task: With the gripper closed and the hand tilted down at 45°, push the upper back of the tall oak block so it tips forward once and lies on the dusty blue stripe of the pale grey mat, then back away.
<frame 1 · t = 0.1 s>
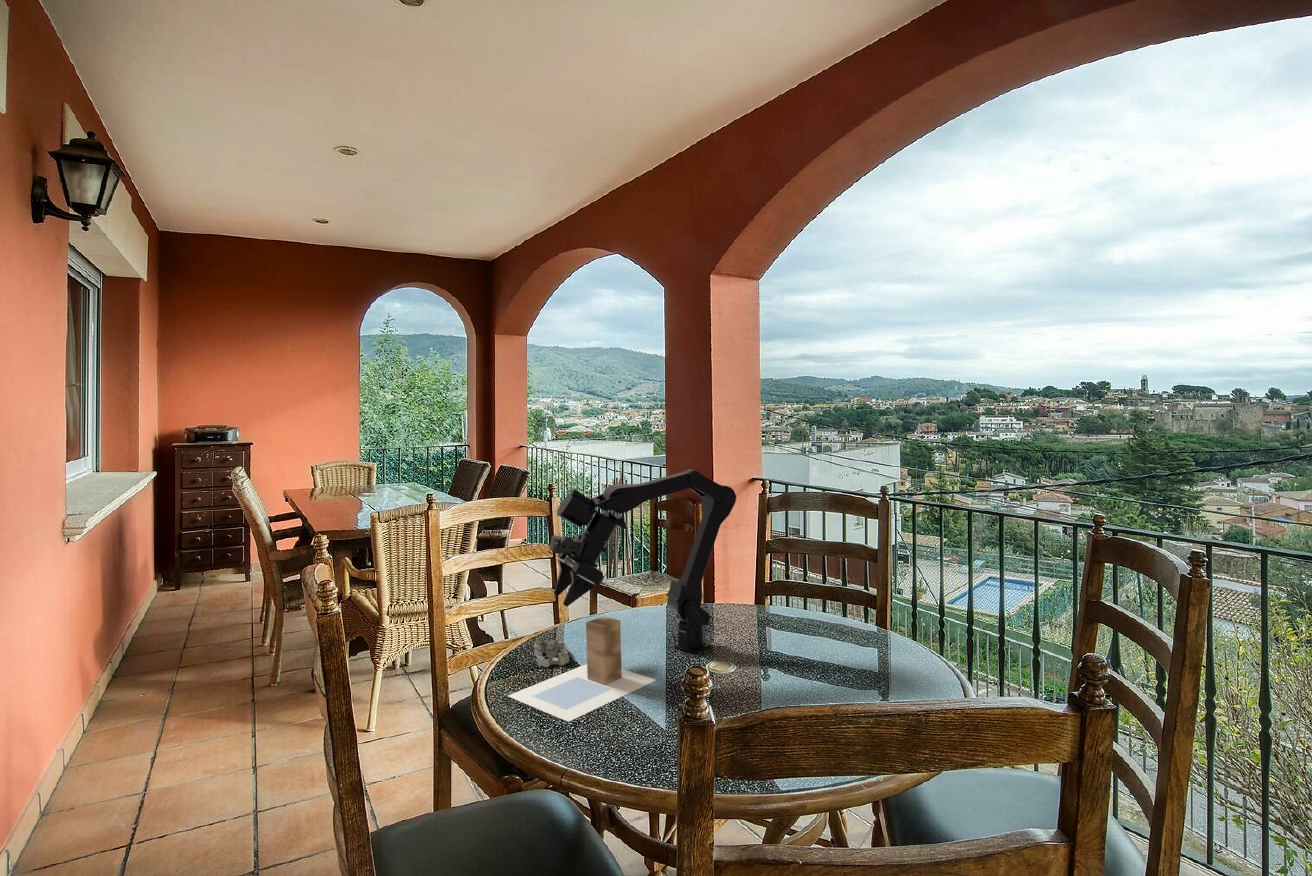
hand: (560, 600, 150), 15 cm above the table, tool tilted 35°, fingers open, 9 cm apart
egg carton: (551, 662, 155), on the table
oak block: (604, 678, 143), resting on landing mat
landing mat: (583, 690, 138), on the table
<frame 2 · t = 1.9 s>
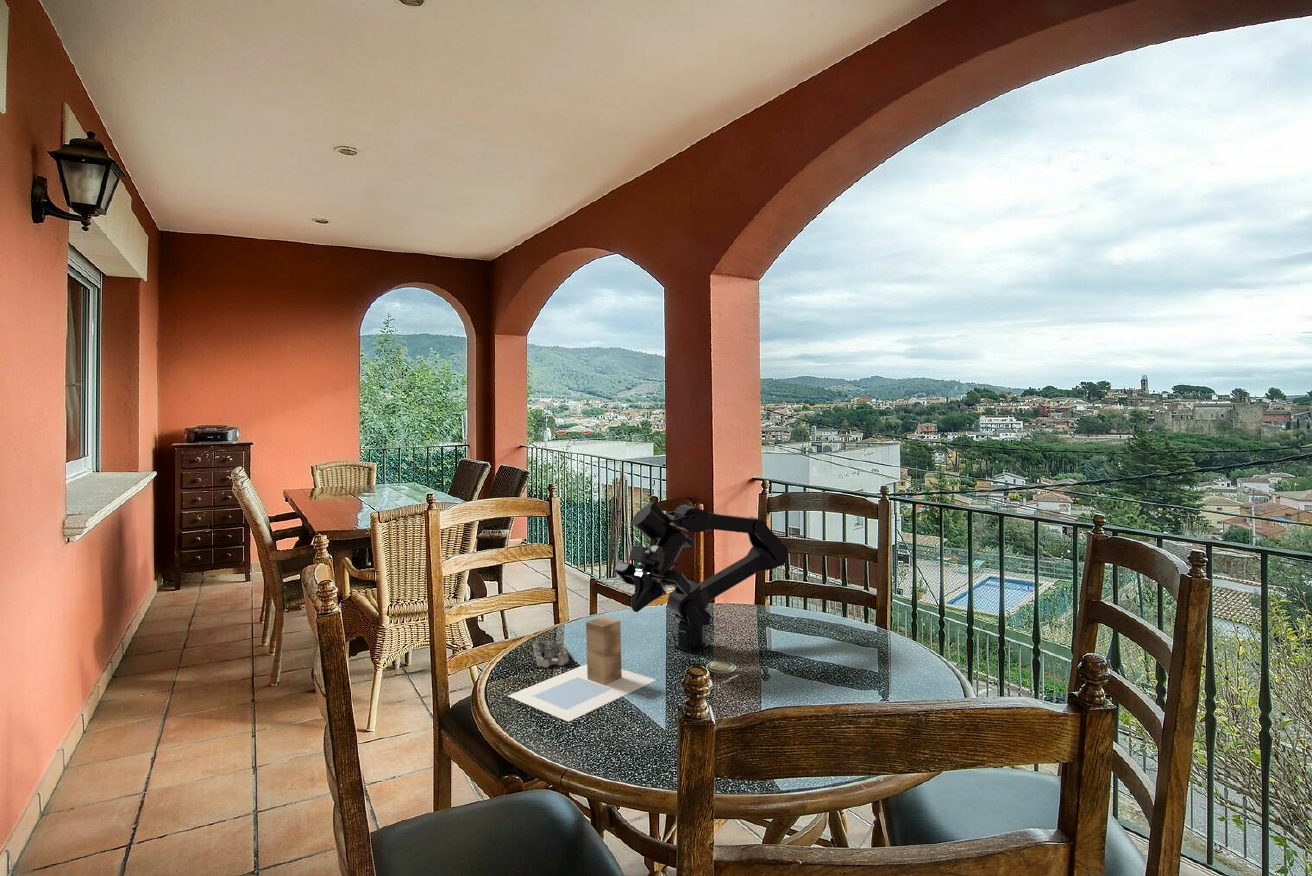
hand: (634, 611, 149), 12 cm above the table, tool tilted 45°, fingers closed
nothing on the table moved.
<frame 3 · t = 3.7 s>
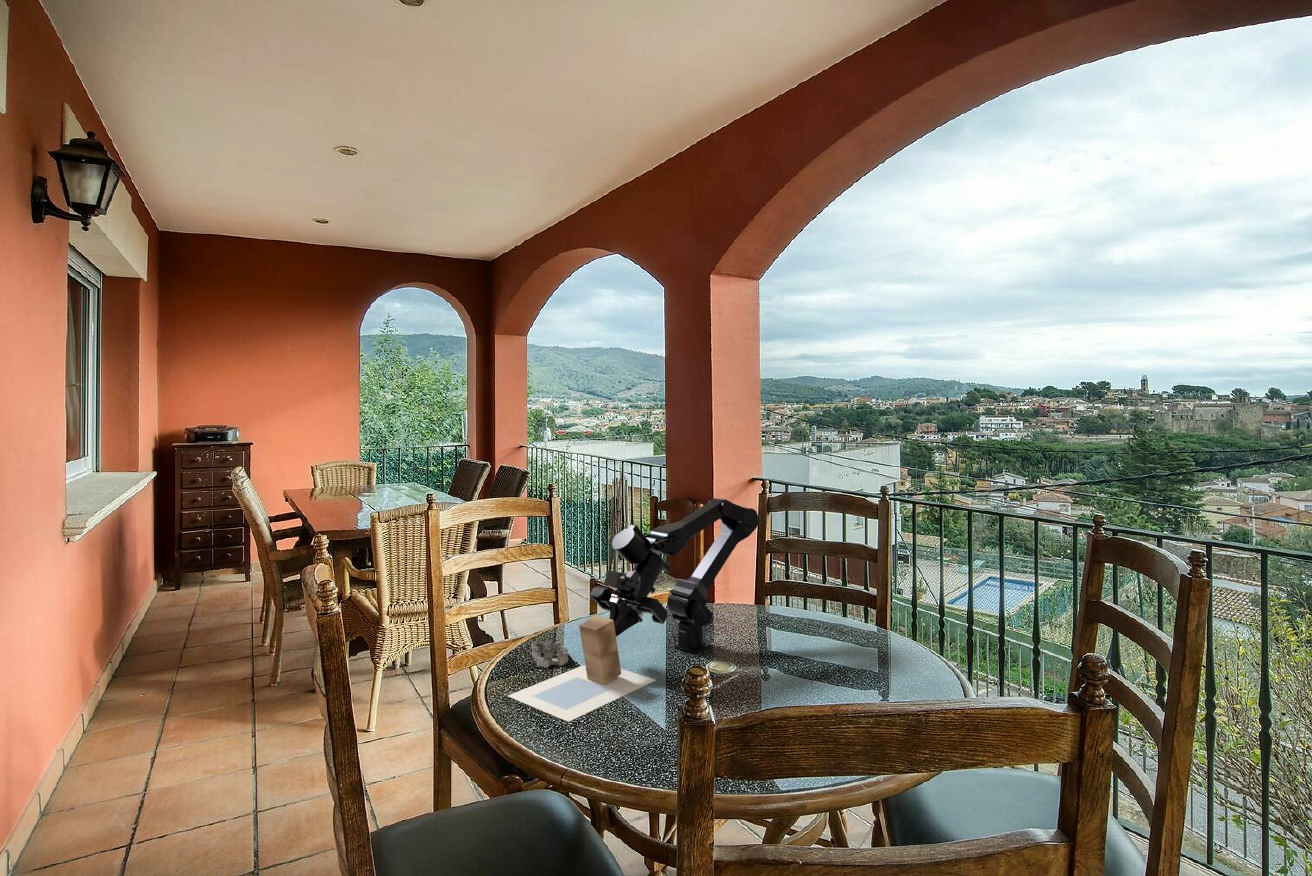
hand: (608, 639, 143), 8 cm above the table, tool tilted 45°, fingers closed, pressing on oak block
oak block: (604, 676, 143), point 1 cm above the table, tilted 9°, touching gripper, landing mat
everything else where it was.
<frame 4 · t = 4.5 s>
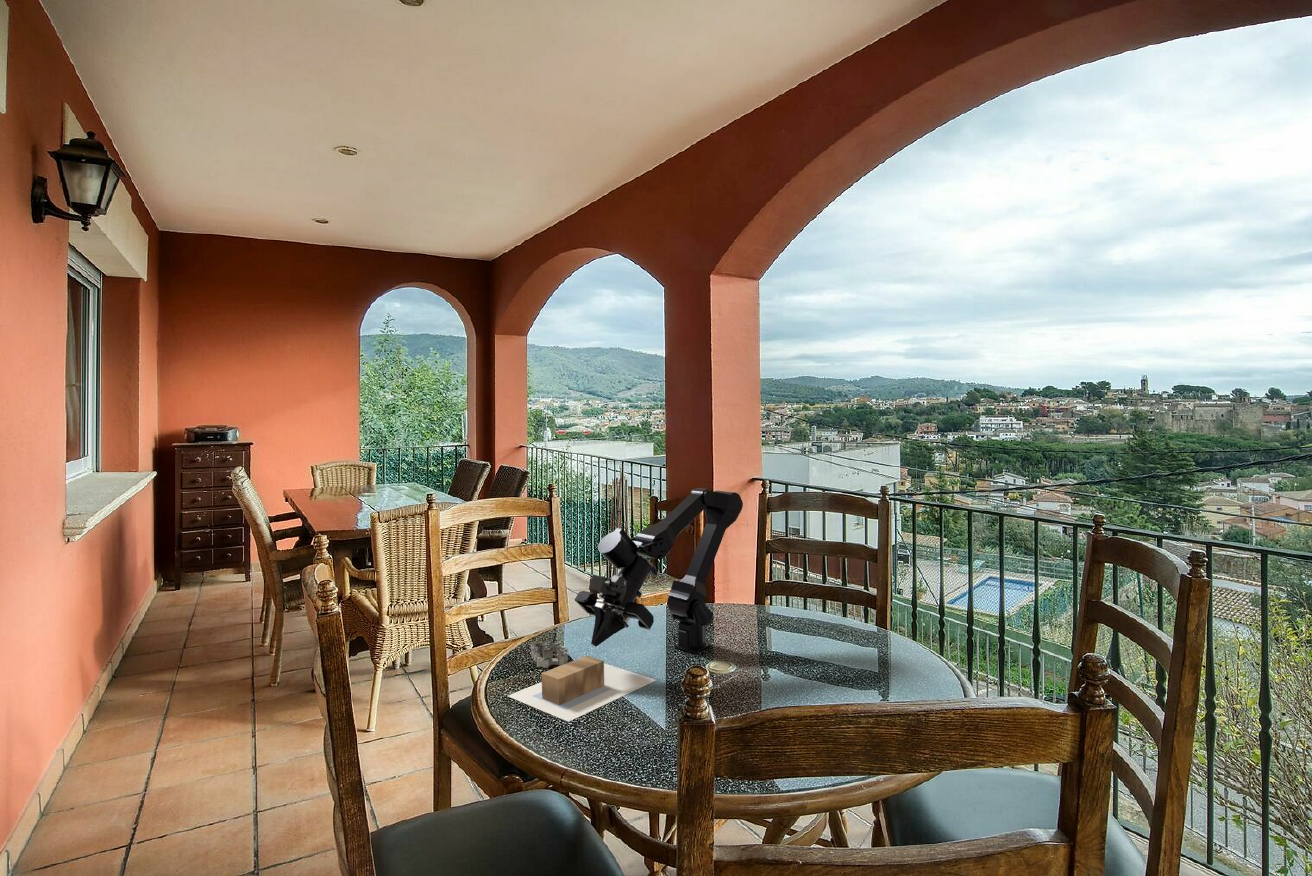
hand: (593, 645, 140), 8 cm above the table, tool tilted 45°, fingers closed
oak block: (595, 670, 141), point 3 cm above the table, tilted 90°, touching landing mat
everything else where it was.
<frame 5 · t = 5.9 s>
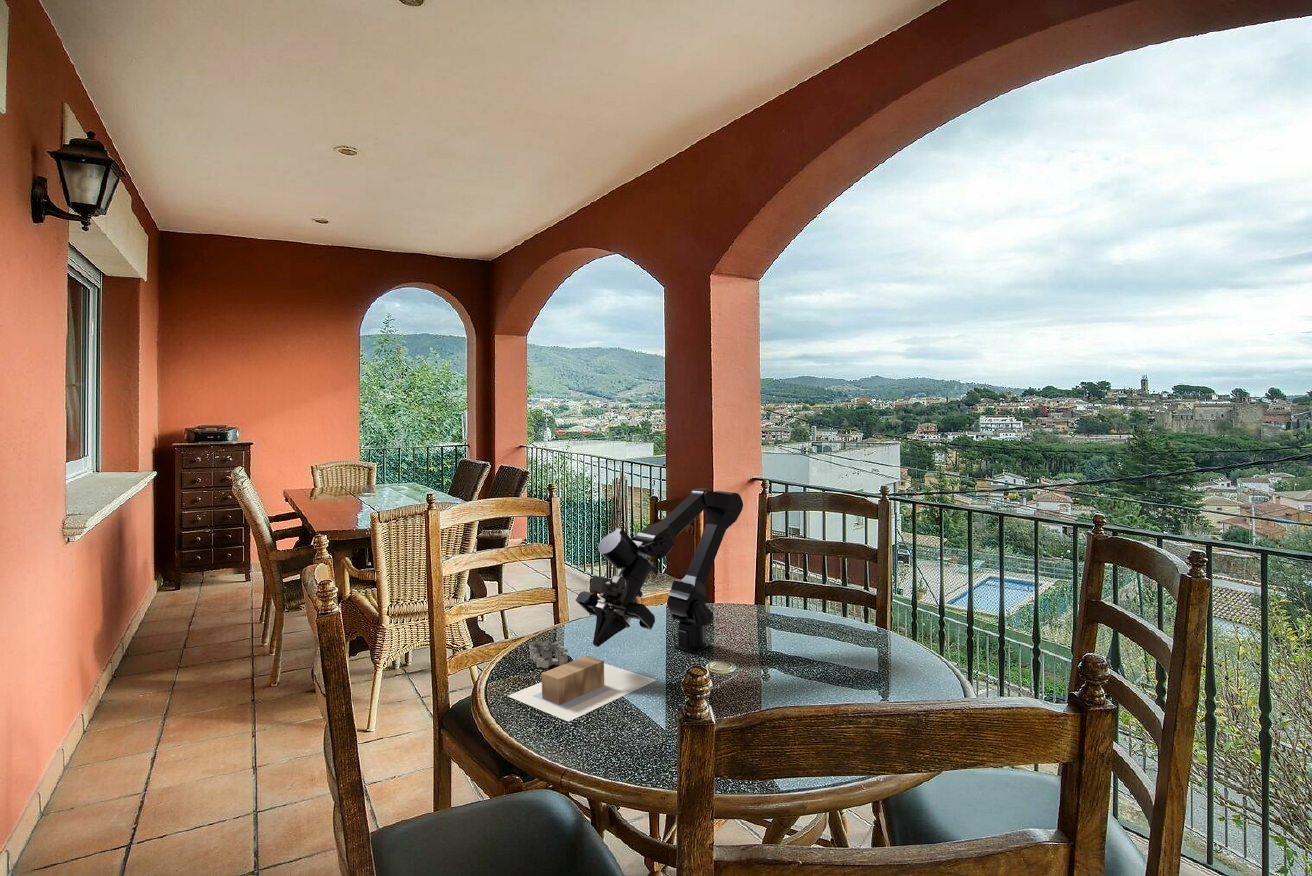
hand: (595, 645, 140), 8 cm above the table, tool tilted 45°, fingers closed
nothing on the table moved.
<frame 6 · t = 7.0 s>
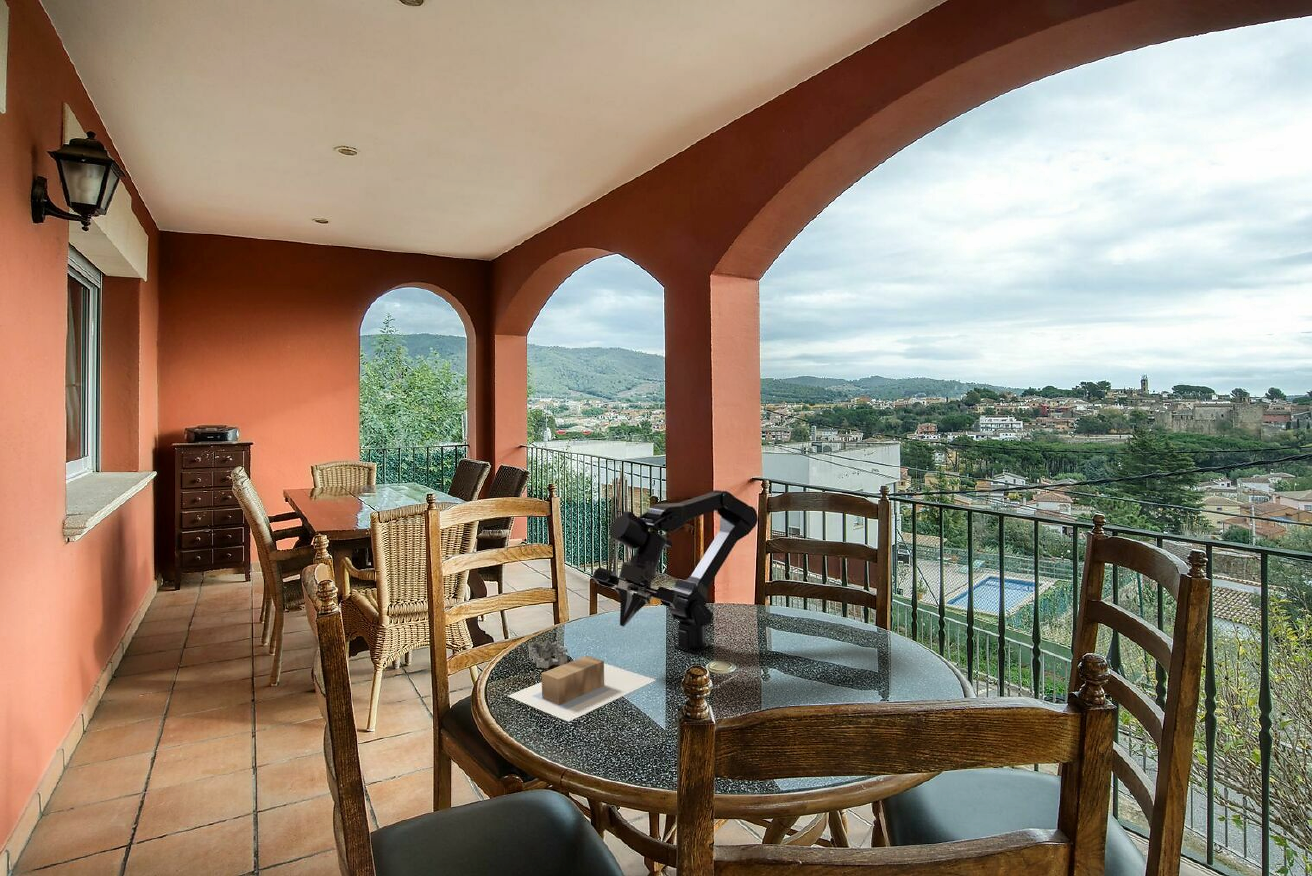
hand: (621, 626, 146), 10 cm above the table, tool tilted 30°, fingers closed
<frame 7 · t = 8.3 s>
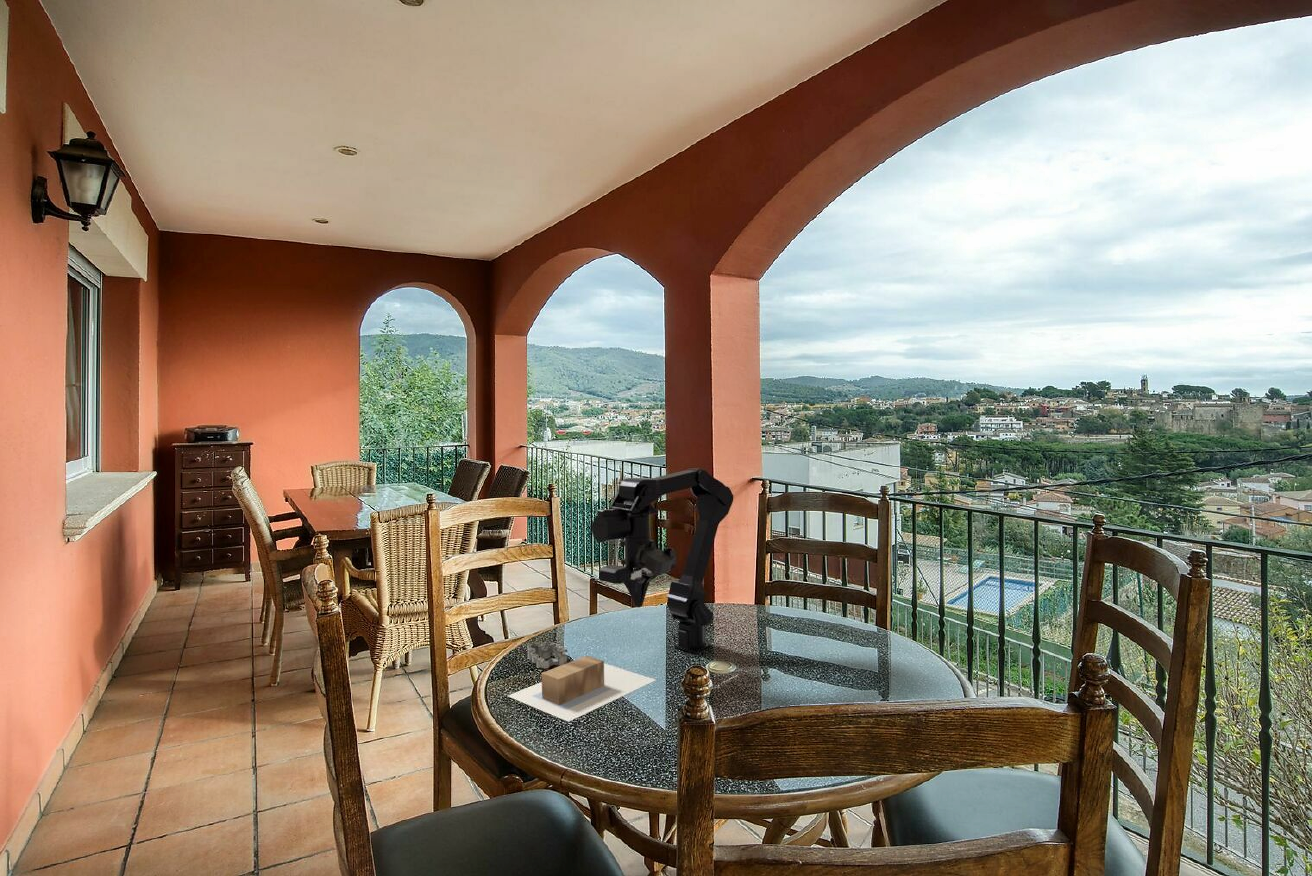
hand: (639, 606, 150), 13 cm above the table, tool pointing down, fingers closed
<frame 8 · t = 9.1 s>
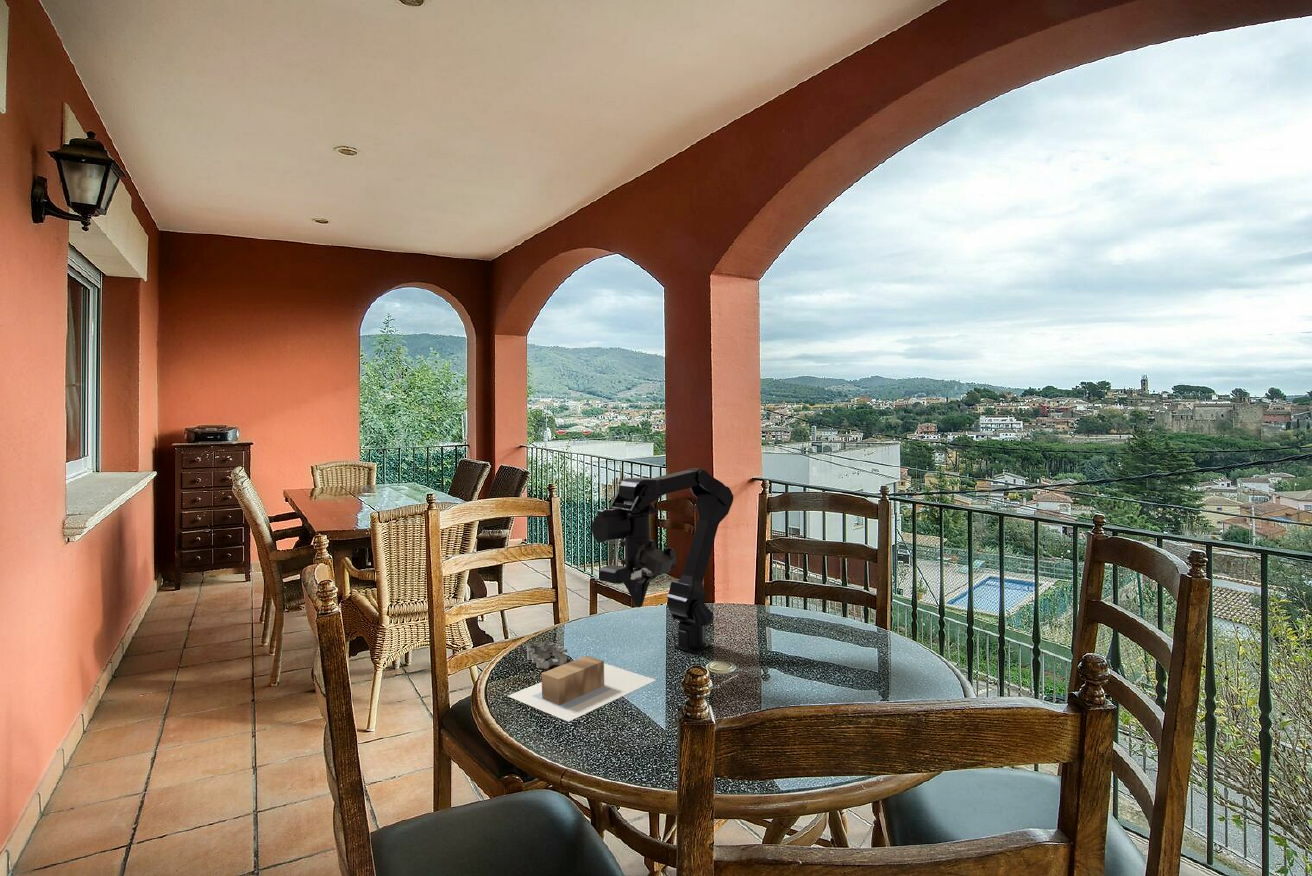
hand: (639, 606, 150), 13 cm above the table, tool pointing down, fingers closed
at the end: oak block tilted 90°; oak block inside the target area (2.5 cm from its centre), point 3.0 cm above the table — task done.
